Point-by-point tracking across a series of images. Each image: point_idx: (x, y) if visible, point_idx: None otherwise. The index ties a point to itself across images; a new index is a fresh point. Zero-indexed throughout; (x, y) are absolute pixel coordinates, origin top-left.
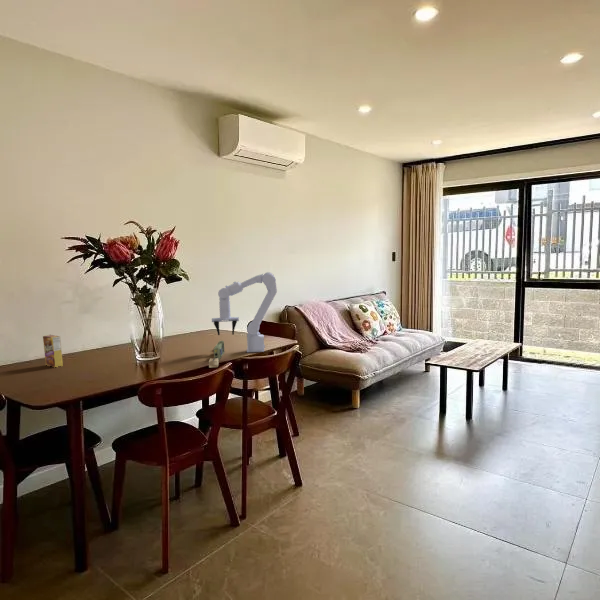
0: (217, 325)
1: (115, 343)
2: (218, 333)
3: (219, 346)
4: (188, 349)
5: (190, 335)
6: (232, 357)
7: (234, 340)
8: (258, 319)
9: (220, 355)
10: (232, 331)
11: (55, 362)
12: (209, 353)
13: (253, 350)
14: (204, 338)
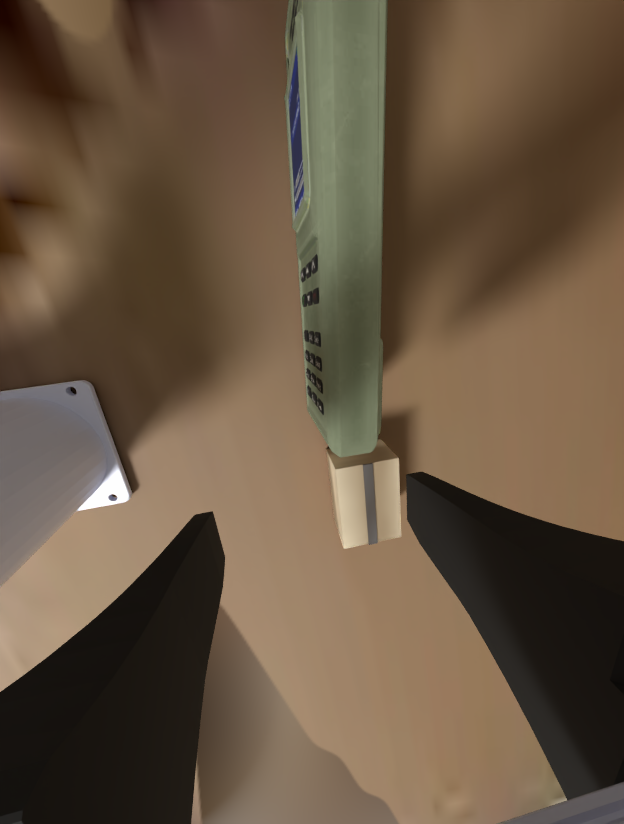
0: (582, 564)
1: None
2: (431, 479)
3: (319, 45)
4: (565, 495)
5: (549, 770)
6: (174, 165)
7: (310, 722)
8: None
9: (289, 87)
10: (191, 541)
11: None
12: (420, 367)
13: (12, 398)
14: (483, 734)
